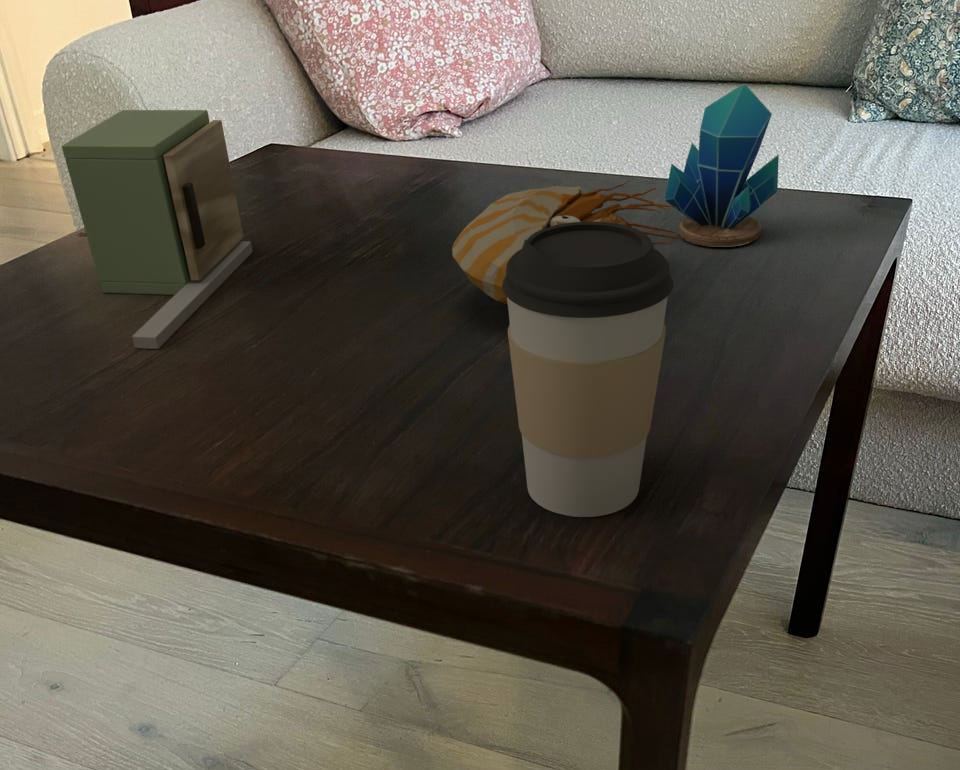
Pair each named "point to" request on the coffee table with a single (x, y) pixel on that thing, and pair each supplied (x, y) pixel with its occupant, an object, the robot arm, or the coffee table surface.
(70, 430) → the coffee table surface
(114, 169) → the cabinet
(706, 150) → the gemstone
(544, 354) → the coffee cup
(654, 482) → the coffee table surface
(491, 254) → the nautilus
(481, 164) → the coffee table surface
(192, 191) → the sliding door
